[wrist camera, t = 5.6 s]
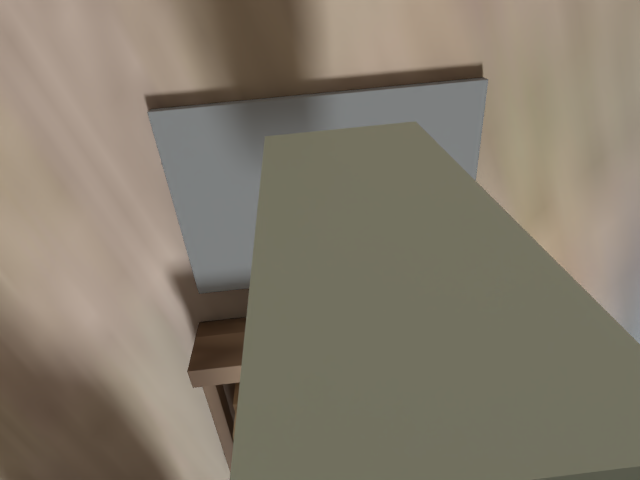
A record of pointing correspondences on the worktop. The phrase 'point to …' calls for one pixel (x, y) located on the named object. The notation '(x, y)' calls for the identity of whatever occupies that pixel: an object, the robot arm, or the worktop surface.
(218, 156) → the grey mat
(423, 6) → the worktop surface
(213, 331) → the rack
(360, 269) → the pale grey rectangular block
